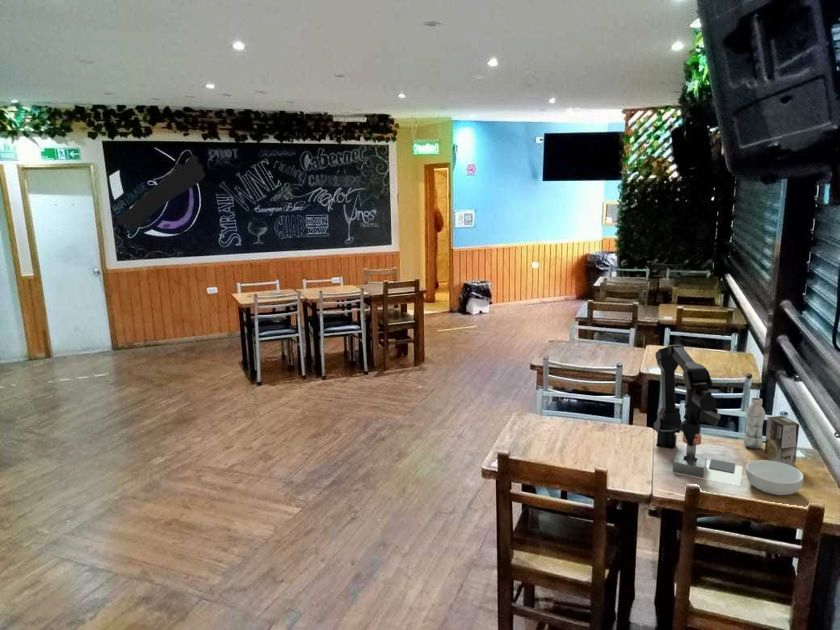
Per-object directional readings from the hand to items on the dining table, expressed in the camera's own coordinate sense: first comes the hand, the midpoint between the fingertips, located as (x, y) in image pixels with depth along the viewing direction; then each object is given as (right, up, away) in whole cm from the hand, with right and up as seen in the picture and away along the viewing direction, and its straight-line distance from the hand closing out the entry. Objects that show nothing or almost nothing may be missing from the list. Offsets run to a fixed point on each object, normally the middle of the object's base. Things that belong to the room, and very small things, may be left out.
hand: (691, 442), depth 210 cm
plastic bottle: (+34, -6, +20) cm, 40 cm away
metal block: (0, -10, +2) cm, 11 cm away
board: (+7, -11, +2) cm, 13 cm away
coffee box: (+37, -9, +8) cm, 39 cm away
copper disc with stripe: (0, -5, +1) cm, 6 cm away
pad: (+13, -10, +4) cm, 17 cm away
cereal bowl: (+22, -13, -13) cm, 28 cm away
